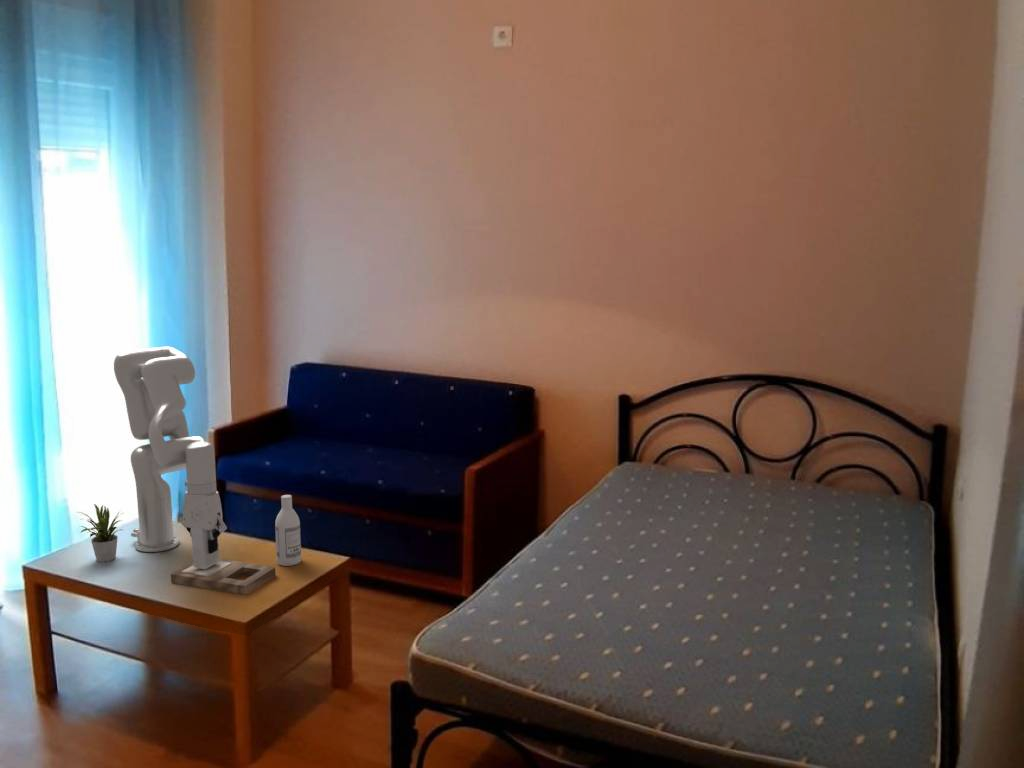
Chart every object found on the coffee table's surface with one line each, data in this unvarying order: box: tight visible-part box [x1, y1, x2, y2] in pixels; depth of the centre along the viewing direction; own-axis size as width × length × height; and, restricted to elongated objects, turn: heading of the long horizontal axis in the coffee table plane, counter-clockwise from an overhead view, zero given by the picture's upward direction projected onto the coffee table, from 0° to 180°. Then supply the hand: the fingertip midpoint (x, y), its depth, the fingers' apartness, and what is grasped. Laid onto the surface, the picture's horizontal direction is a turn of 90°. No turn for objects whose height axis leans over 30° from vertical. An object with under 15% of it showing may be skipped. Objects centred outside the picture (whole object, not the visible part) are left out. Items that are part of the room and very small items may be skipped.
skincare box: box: [190, 527, 220, 569], centre depth 257 cm, size 6×4×12 cm
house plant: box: [77, 503, 124, 563], centre depth 270 cm, size 14×14×16 cm
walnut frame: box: [170, 558, 277, 596], centre depth 256 cm, size 24×14×3 cm, turn 71°
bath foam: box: [274, 494, 302, 567], centre depth 267 cm, size 7×7×20 cm
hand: (205, 549), depth 257 cm, fingers closed on skincare box, 4 cm apart
